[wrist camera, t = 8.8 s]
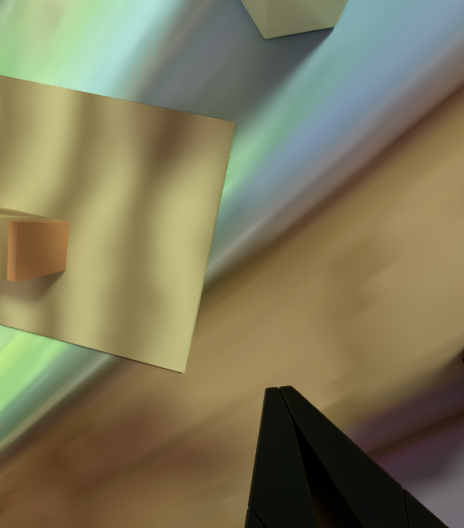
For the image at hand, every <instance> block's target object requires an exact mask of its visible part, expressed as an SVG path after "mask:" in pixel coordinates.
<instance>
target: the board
mask: <svg viewBox="0 0 464 528" xmlns="http://www.w3.org/2000/svg"><path fill="white" fill-rule="evenodd" d="M235 127H236V125H235V122H231V121H226V120H221V119H216V118H211V117H206V116H201V115H196V114H191V113H186V112H182V111H177V110H172V109H167V108H162V107H157V106H152V105H147V104H142V103H137V102H132V101H127V100H122V99H117V98H112V97H107V96H102V95H97V94H92V93H87V92H82V91H77V90H72V89H67V88H62V87H57V86H52V85H47V84H42V83H37V82H32V81H27V80H22V79H17V78H12V77H7V76H2V75H0V206H1V207H5V208H9V209H14V210H18V211H22V212H26V213H31V214H35V215H39V216H43V217H48V218H52V219H56V220H60V221H65V222H69V233H68V246H67V259H66V270H65V271H61V272H57V273H53V274H48V275H44V276H40V277H36V278H32V279H28V280H24V281H20V282H16V283H15V282H11V281H7V280H3V279H0V324H3V325H6V326H10V327H14V328H18V329H21V330H25V331H29V332H33V333H36V334H40V335H44V336H47V337H51V338H55V339H59V340H62V341H66V342H70V343H74V344H77V345H81V346H85V347H89V348H92V349H96V350H100V351H104V352H107V353H111V354H115V355H118V356H122V357H126V358H130V359H133V360H137V361H141V362H145V363H148V364H152V365H156V366H160V367H163V368H167V369H171V370H175V371H178V372H182V373H185V371H186V368H187V363H188V358H189V353H190V348H191V344H192V339H193V334H194V329H195V324H196V319H197V314H198V309H199V304H200V299H201V294H202V289H203V285H204V280H205V275H206V270H207V265H208V260H209V255H210V250H211V245H212V240H213V235H214V230H215V225H216V221H217V216H218V211H219V206H220V201H221V196H222V191H223V186H224V181H225V176H226V171H227V166H228V162H229V157H230V152H231V147H232V142H233V137H234V132H235Z"/></svg>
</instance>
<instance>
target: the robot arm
mask: <svg viewBox="0 0 464 528" xmlns="http://www.w3.org/2000/svg"><path fill="white" fill-rule="evenodd" d="M463 361H464V359H463ZM244 528H449V527H448V526H446V525H445V524H444V523H443V522H442V521H441V520H440V519H438V518H437V517H436V516H435V515H434V514H433V513H432V512H430V511H429V510H428V509H427V508H426V507H425V506H424V505H423V504H421V503H420V502H419V501H418V500H417V499H416V498H415V497H414V496H413V495H412V494H410V493H409V492H408V491H407V490H406V489H403V490H402V486H401V485H400V484H399V483H398V482H397V481H396V480H395V479H394V478H393V477H391V476H390V475H389V474H388V473H387V472H386V471H385V470H384V469H383V468H382V467H380V466H379V465H378V464H377V463H376V462H375V461H374V460H373V459H372V458H371V457H369V456H368V455H367V454H366V453H365V452H364V451H363V450H362V449H361V448H360V447H358V446H357V445H356V444H355V443H354V442H353V441H352V440H351V439H350V438H349V437H347V436H346V435H345V434H344V433H343V432H342V431H341V430H340V429H339V428H338V427H336V426H335V425H334V424H333V423H332V422H331V421H330V420H329V419H328V418H327V417H325V416H324V415H323V414H322V413H321V412H320V411H319V410H318V409H317V408H315V407H314V406H313V405H312V404H311V403H310V402H309V401H308V400H307V399H306V398H304V397H303V396H302V395H301V394H300V393H299V392H298V391H297V390H296V389H295V388H293V387H292V386H281V387H279V388H278V387H270V388H266V389H265V395H264V401H263V408H262V415H261V422H260V428H259V435H258V442H257V448H256V455H255V462H254V468H253V475H252V482H251V488H250V495H249V502H248V509H247V514H246V521H245V527H244Z"/></svg>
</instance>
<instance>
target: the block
mask: <svg viewBox="0 0 464 528" xmlns="http://www.w3.org/2000/svg"><path fill="white" fill-rule="evenodd" d="M68 233H69V222H65V221H60V220H56V219H52V218H48V217H43V216H39V215H35V214H31V213H26V212H22V211H18V210H14V209H9V208H5V207H1V206H0V279H3V280H7V281H11V282H15V283H16V282H20V281H24V280H28V279H32V278H36V277H40V276H44V275H48V274H53V273H57V272H61V271H65V270H66V259H67V246H68Z"/></svg>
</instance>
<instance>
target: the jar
mask: <svg viewBox="0 0 464 528" xmlns="http://www.w3.org/2000/svg"><path fill="white" fill-rule="evenodd" d="M241 2H242V3H243V5H244V7H245V8H246V10H247V11H248V13H249V15H250V16H251V18H252V20H253V21H254V23H255V25H256V26H257V28H258V29H259V31H260V33H261V34H262V36H263V37H264V38H265V39H269V38H274V37H280V36H285V35H291V34H297V33H302V32H308V31H313V30H319V29H325V28H331V27H334V26H336V25H337V23H338V21H339V19H340V17H341V15H342V13H343V10H344V8H345V6H346V4H347V2H348V0H241Z"/></svg>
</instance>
